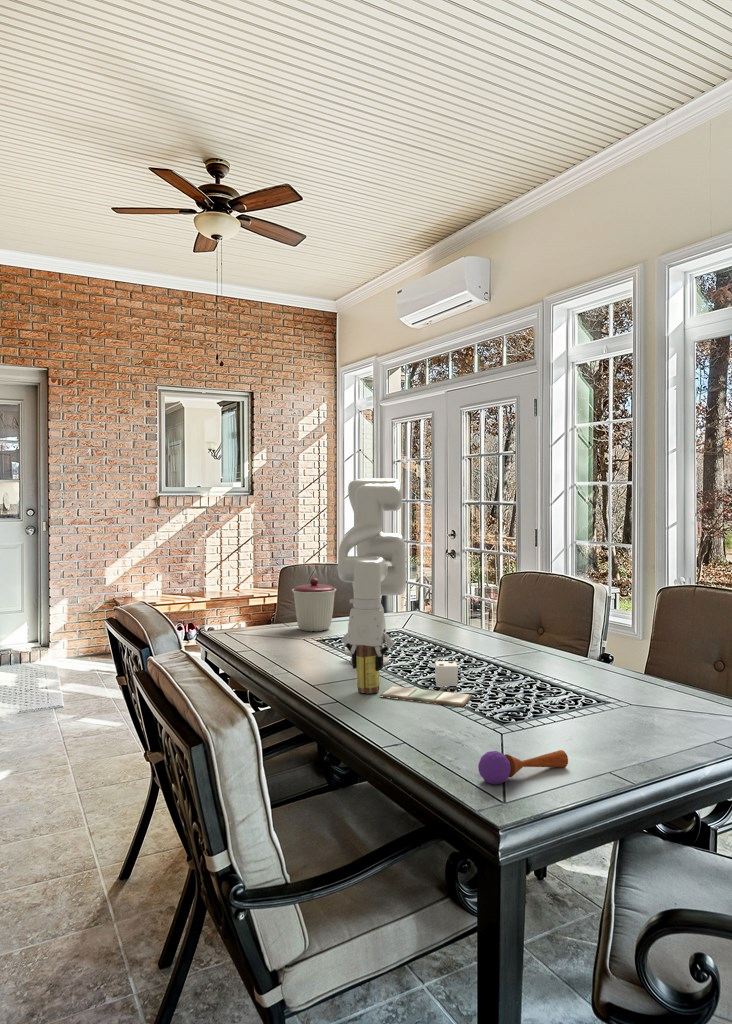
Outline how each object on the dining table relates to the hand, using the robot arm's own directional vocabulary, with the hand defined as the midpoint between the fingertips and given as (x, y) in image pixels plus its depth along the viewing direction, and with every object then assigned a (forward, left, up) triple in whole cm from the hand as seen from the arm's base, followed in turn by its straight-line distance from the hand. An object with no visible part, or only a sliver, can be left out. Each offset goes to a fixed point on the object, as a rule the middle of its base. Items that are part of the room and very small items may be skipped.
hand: (367, 668), depth 192 cm
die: (+18, +16, -7) cm, 25 cm away
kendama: (+50, -42, -7) cm, 65 cm away
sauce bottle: (0, 0, -7) cm, 7 cm away
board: (+17, +1, -7) cm, 18 cm away
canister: (-54, +75, -7) cm, 93 cm away
